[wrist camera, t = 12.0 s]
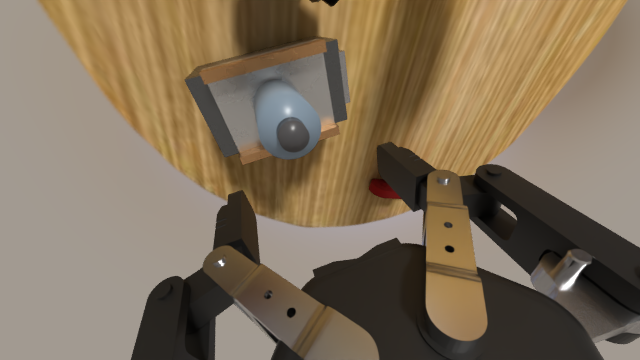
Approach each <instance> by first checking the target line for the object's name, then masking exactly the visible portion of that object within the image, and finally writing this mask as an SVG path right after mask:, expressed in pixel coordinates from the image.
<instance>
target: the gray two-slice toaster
mask: <svg viewBox="0 0 640 360" xmlns="http://www.w3.org/2000/svg"><path fill="white" fill-rule="evenodd" d="M274 79H279V80H284V81H286V82H288V83H290V84H291V85H293V86H294V87H295V89H296V90H297V91H298V92H299V93H300V94H301V95H302V96H303V97H304V98H305V100H306V101H307V102H308V103H309V104H310V105H311V106H312V107H313V108H314V110H315V111H316V112H317V114H318V116H319V118H320V122H321V134H320V138H319V140H323V139H326V138H329V137H332V136H335V135H338V134H340V133H339V126H338V125H337V124H336V123H337V122H340V121H343V120H346V119H347V113H346V105H345V103H349V102H350V97H349V88H348V79H347V70H346V62H345V53H344V51H342V50H338V42H337V39H331V38H324V37H318V36H313V37H309V38H305V39H301V40H297V41H294V42H290V43H286V44H282V45H278V46H274V47H270V48H267V49H263V50H259V51H255V52H251V53H247V54H244V55H240V56H236V57H232V58H228V59H224V60H221V61H217V62H213V63H209V64H205V65H201V66H198V67H196V68H195V69H194V71H193V72H192V73H191V74H190V75H189V76H188V77H187V78H186V79H185V82H186V84H187V86H188V88H189V90H190V92H191V94H192V96H193V98H194V99H195V101H196V103H197V105H198V107H199V109H200V111H201V113H202V115H203V117H204V119H205V121H206V122H207V124H208V126H209V128H210V130H211V132H212V134H213V136H214V138H215V140H216V142H217V144H218V146H219V147H220V149H221V151H222V153H223V155H224V157H228V156H231V155H234V154H237V153H239V158H240V160H241V162H242V164H243V165H244V164H247V163H250V162H254V161H257V160H260V159H263V158H266V157H269V156H272V154H270V153H269V152H268V151H267V150H266V149H265V148H264V146H263V145H262V143H261V141H260V138H259V133H258V128H257V122H256V117H255V112H254V106H253V99H254V95H255V93H256V91H257V89H258V88H259V87H260V86H261V85H262V84H263V83H265V82H267V81H269V80H274ZM319 140H318V141H319Z"/></svg>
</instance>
